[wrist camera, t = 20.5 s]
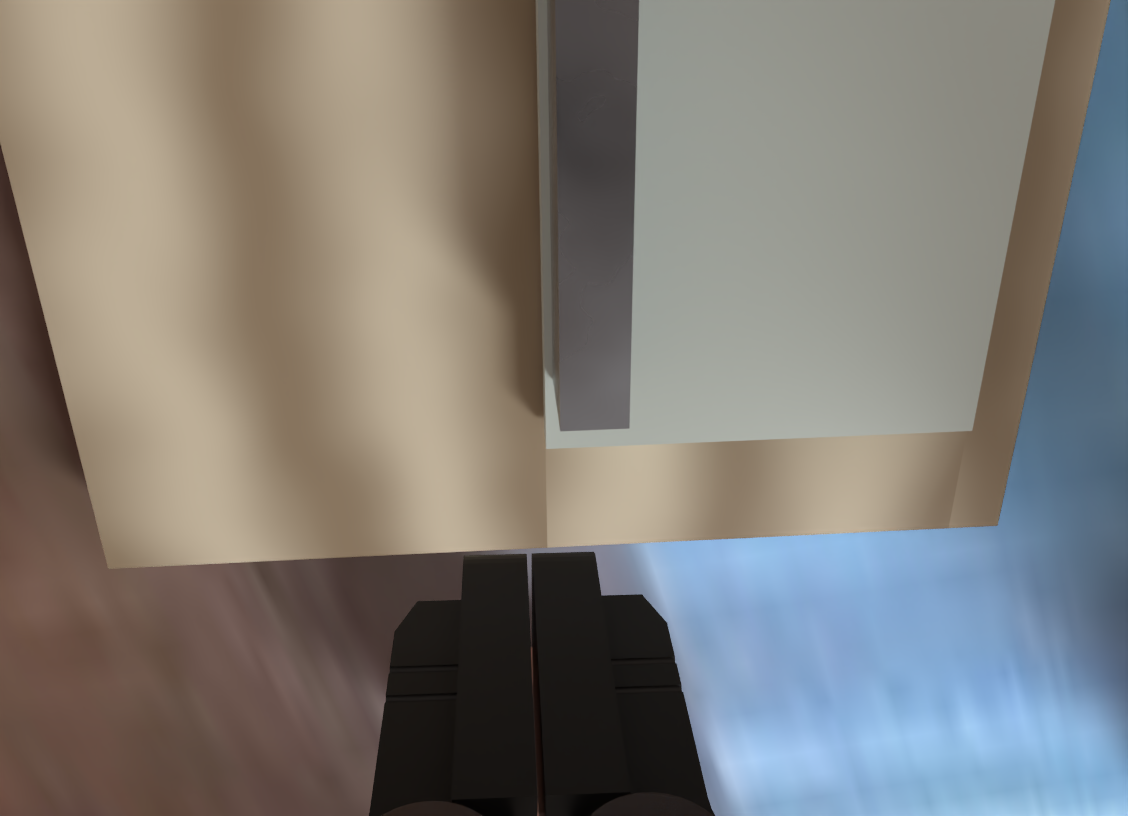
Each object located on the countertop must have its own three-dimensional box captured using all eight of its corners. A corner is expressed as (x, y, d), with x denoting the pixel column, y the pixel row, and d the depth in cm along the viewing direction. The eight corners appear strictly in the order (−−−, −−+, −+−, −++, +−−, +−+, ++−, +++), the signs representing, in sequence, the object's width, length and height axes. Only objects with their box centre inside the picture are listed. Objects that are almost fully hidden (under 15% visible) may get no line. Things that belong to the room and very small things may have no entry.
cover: (1062, -162, 22) (1166, -171, 19) (956, 414, 29) (1020, 484, 25) (532, -158, 22) (541, -167, 18) (544, 431, 28) (552, 505, 24)
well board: (1125, -360, 23) (1194, -387, 21) (962, 482, 33) (997, 525, 31) (-73, -366, 21) (-137, -396, 19) (134, 520, 31) (108, 568, 29)
